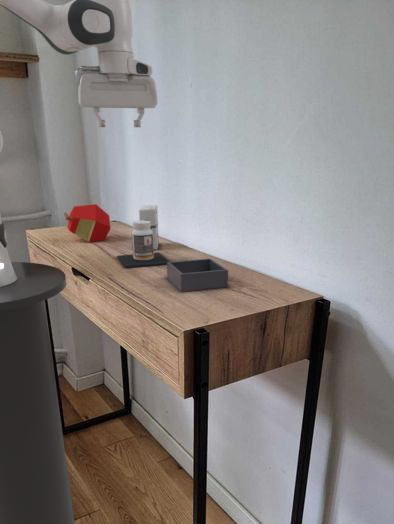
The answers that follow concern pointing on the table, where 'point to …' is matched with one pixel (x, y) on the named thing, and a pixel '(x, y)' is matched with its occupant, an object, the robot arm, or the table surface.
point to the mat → (131, 262)
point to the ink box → (151, 221)
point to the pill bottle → (142, 241)
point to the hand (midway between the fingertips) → (119, 127)
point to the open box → (197, 274)
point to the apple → (89, 222)
